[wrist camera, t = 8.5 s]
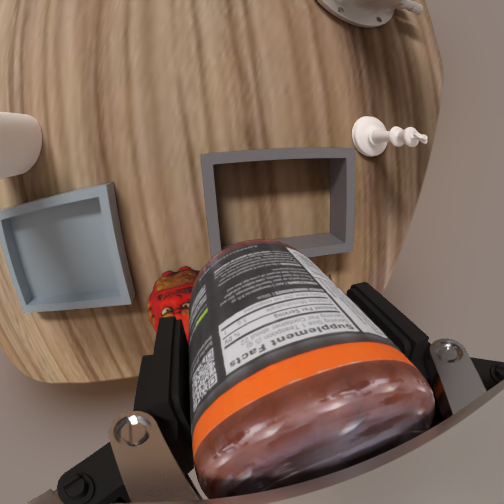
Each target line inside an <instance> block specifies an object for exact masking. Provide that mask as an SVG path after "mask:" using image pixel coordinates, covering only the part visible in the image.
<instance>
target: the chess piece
mask: <svg viewBox="0 0 504 504" xmlns="http://www.w3.org/2000/svg"><path fill="white" fill-rule="evenodd" d="M427 138H428V137H427V136H426V135H425V134H420V133H418V132H417V130H416V129H415V128H413V127H408V128H406V129H404V130H402V129H401V128H400V127H393V128H392V129H391V130H390V131H386V128H385V126H384V125H383V123H382V122H381V121H380V120H378V119H377V118H374V117H369V116H365V117H361V118H360V119H358V120H357V121H356V122H355V124H354V126H353V129H352V139H353V143H354V145H355V147H356V148H357V150H358V151H359V152H360V153H362V154H363V155H365V156H377V155H379V154H381V153H382V152H383V151H384V150H385V148H386V146H387V142H389V141H391V143H392V144H393V145H394V146H397V147H399V146H402V145H403V144H404V143H405V144H406V145H408V146H409V147H415V146H417V144H418V142H419V141H421V142H422V143H423V144H426V143H427Z"/></svg>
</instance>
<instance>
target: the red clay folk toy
mask: <svg viewBox="0 0 504 504" xmlns="http://www.w3.org/2000/svg"><path fill="white" fill-rule="evenodd" d="M199 272H200V271H195V270H193V269H191V268H190V267H187V266H185V267H182V268H180V269H179V270H178V271H177V272H173V271H167V272H165V273H163V274H162V277H161V278H159V279H158V280H157V281H156V282H155V284H154V287H153V291H152V293H151V294H150V296H149V301H148V303H147V311H148V318H149V321H150V323H151V324H152V326H153V328H154V330H155V331H156V333H157V329H158V323H159V318H162V317H169V316H175V317H176V320H178V319H182V322H183V326H184V330H185V334H186V338H187V341H188V343H189V304H190V297H191V293H192V288H193V285H194V282H195V280H196V278H197V276H198V275H199Z"/></svg>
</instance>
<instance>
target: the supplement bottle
mask: <svg viewBox="0 0 504 504" xmlns="http://www.w3.org/2000/svg"><path fill="white" fill-rule="evenodd" d="M188 349H189V393H190V418H191V436H192V448H193V459H194V466H195V471H196V475H197V479H198V482H199V484H200V487H201V489H202V490H203V492H204V493H205V495H206V496H207V497H208V499H217V498H225V497H233V496H240V495H246V494H252V493H258V492H263V491H268V490H273V489H278V488H282V487H286V486H290V485H294V484H298V483H302V482H305V481H309V480H312V479H316V478H319V477H322V476H325V475H329V474H332V473H335V472H337V471H340V470H343V469H346V468H349V467H351V466H354V465H356V464H359V463H362V462H364V461H366V460H369V459H371V458H374V457H376V456H378V455H380V454H383V453H385V452H387V451H389V450H391V449H393V448H395V447H398V446H400V445H402V444H404V443H406V442H407V441H409V440H411V439H413V438H415V437H417V436H419V435H421V434H422V433H424V432H426V431H428V430H430V428H431V425H432V421H433V418H434V416H435V414H434V413H435V399H434V396H433V392H432V389H431V387H430V386H429V384H428V383H427V381H426V379H425V378H424V377H423V375H422V374H421V373H420V371H419V370H418V369H417V368H416V367H415V366H414V365H413V364H412V363H411V362H410V361H409V360H408V359H407V357H406V356H405V355H404V354H403V353H402V352H401V350H400V349H399V348H398V347H397V346H396V345H395V344H394V343H393V342H392V341H391V340H390V339H389V338H388V337H387V336H386V334H385V333H384V332H383V331H382V330H381V329H380V328H379V327H378V326H377V325H376V324H375V323H374V322H373V321H372V320H371V319H370V318H369V317H368V316H367V314H366V313H364V312H363V311H362V310H361V309H360V307H359V306H358V305H357V304H356V303H354V302H353V301H352V300H351V299H350V298H349V297H348V296H347V295H346V294H345V293H344V292H343V291H342V290H341V289H340V288H339V287H338V286H337V285H335V283H334V282H333V281H332V279H331V275H330V274H329V278H328V276H326V275H325V273H324V272H322V271H321V270H320V269H319V268H318V267H317V266H316V264H315V263H314V262H313V261H311V260H310V259H309V258H307V257H306V256H305V255H304V254H303V253H301V252H300V251H298V250H297V249H296V248H294V247H292V246H290V245H288V244H285V243H282V242H279V241H275V240H269V239H256V240H248V241H244V242H240V243H237V244H234V245H232V246H229V247H227V248H226V249H224V250H222V251H220V252H219V253H217V254H216V255H215V256H213V257H212V258H211V259H210V261H209V262H208V263H207V264H206V265H205V266H204V267H203V269H202V270H201V271H200V272H199V275H198V276H197V278H196V280H195V282H194V285H193V288H192V293H191V297H190V304H189V343H188Z"/></svg>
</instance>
